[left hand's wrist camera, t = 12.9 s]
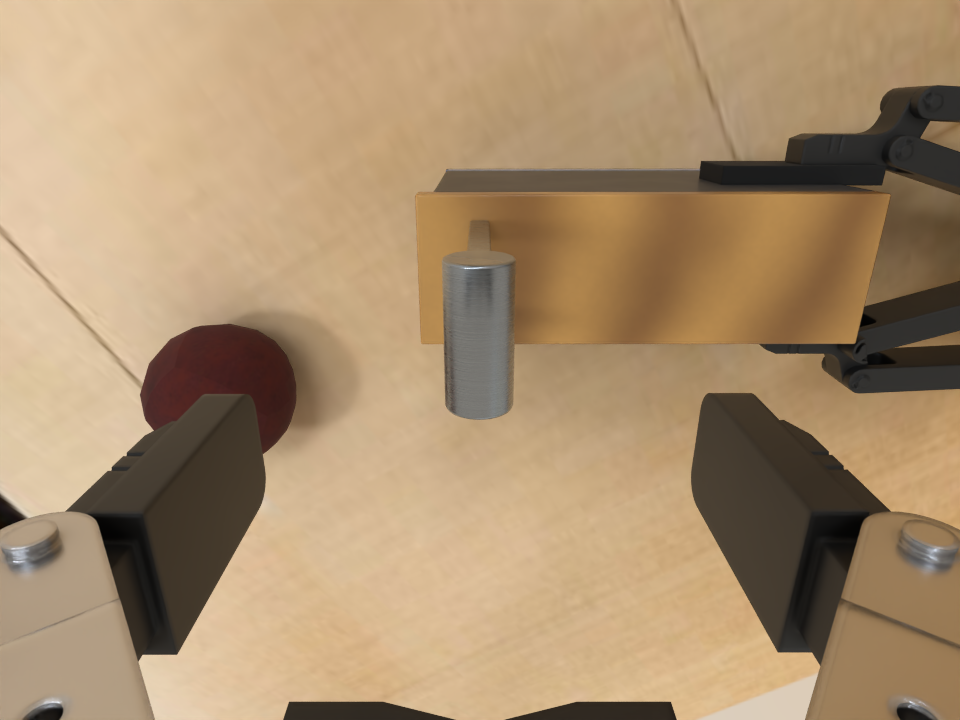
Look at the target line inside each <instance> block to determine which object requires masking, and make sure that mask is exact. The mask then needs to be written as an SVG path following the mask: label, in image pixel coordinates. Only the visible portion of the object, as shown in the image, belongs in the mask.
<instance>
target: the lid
mask: <svg viewBox="0 0 960 720" xmlns="http://www.w3.org/2000/svg"><path fill="white" fill-rule="evenodd" d="M890 198H891V194H888V193H882V192H418V193H417V194H416V196H415V201H416V226H417V252H418V277H419V302H420V327H421V343H422V344H444V368H445V404H446V407H447V409H448V410H449V411H450V412H451V413H452V414H454V415H456V416H459V417H462V418H467V419H477V420H481V419H491V418H496V417H499V416H502V415H504V414H506V413H507V412H509V411H510V409H511V408H512V406H513V382H514V344H855V343H856V338H857V334H858V330H859V326H860V322H861V318H862V314H863V309H864V305H865V301H866V297H867V293H868V289H869V285H870V281H871V276H872V272H873V268H874V264H875V260H876V256H877V252H878V247H879V243H880V239H881V235H882V231H883V227H884V223H885V219H886V214H887V210H888V206H889V202H890Z"/></svg>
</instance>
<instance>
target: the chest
mask: <svg viewBox="0 0 960 720" xmlns="http://www.w3.org/2000/svg"><path fill="white" fill-rule="evenodd" d="M699 174H700V169H447V170H446V173H445V175H444V176H443V178H442V180H441V181H440V183H439V184H438V186H437V188H436V189H435V191H434V192H875V191H872V190H866V189H861V188H856V187H851V186H846V185H720V184H717V183H713V182H710V181H706V180H703V179H700V178H699Z"/></svg>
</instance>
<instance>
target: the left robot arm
mask: <svg viewBox="0 0 960 720" xmlns="http://www.w3.org/2000/svg"><path fill="white" fill-rule="evenodd" d="M265 483H266V476H265V466H264V460H263V453H262V447H261V440H260V433H259V427H258V420H257V414H256V408H255V404H254V401H253V399H252V397H251V396H250V395H248V394H204V395H202V396H201V397H200V398H199V399H198V400H197V401H196V402H195V403H194V404H193V405H192V406H191V407H190V408H189V409H188V410H187V411H186V412H185V413H184V414H183V415H182V416H181V417H180V418H179V419H178V420H177V421H171V422H170V423H168V424H166V425H164V426H162V427H160V428H158V429H157V430H155V431H153V432H151V433H149V434H147V435H145V436H144V437H143V438H142V439H141V440H140V441H139V442H138V443H137V444H136V445H135V446H134V447H132V448H131V449H130V450H129V451H128V452H127V456H123V457H122V458H121V459H120V460H119V461H118V462H117V463H116V464H115V465H114V466H113V467H112V471H107V472H106V473H105V474H104V475H103V476H102V477H101V478H100V479H99V480H98V481H97V482H96V483H95V484H94V485H93V486H92V487H91V488H90V489H88V490H87V491H86V492H85V493H84V494H83V495H82V496H81V497H80V498H79V499H78V500H77V501H76V502H75V503H74V504H73V505H72V506H71V507H70V508H69V509H67V510H66V511H65V512H56V513H49V514H44V515H39V516H35V517H32V518H28V519H25V520H22V521H20V522H17V523H15V524H12V525H10V526H7V527H5V528H3V529H1V530H0V720H155V718H154V715H153V711H152V708H151V704H150V701H149V697H148V694H147V691H146V687H145V684H144V680H143V677H142V673H141V670H140V666H139V663H138V661H139V660H140V658H141V656H142V655H177V654H178V652H179V650H180V649H181V647H182V645H183V643H184V641H185V640H186V638H187V636H188V634H189V633H190V631H191V629H192V627H193V625H194V624H195V622H196V620H197V618H198V617H199V615H200V613H201V611H202V609H203V608H204V606H205V604H206V602H207V601H208V599H209V597H210V595H211V593H212V592H213V590H214V588H215V586H216V585H217V583H218V581H219V579H220V577H221V576H222V574H223V572H224V570H225V569H226V567H227V565H228V563H229V561H230V560H231V558H232V556H233V554H234V553H235V551H236V549H237V547H238V545H239V544H240V542H241V540H242V538H243V537H244V535H245V533H246V531H247V529H248V528H249V526H250V524H251V522H252V521H253V519H254V517H255V515H256V513H257V512H258V510H259V508H260V506H261V504H262V501H263V497H264V492H265ZM691 485H692V492H693V497H694V500H695V503H696V506H697V508H698V509H699V511H700V513H701V515H702V517H703V518H704V520H705V522H706V524H707V526H708V527H709V529H710V531H711V533H712V535H713V536H714V538H715V540H716V542H717V544H718V545H719V547H720V549H721V551H722V553H723V554H724V556H725V558H726V560H727V562H728V563H729V565H730V567H731V569H732V571H733V572H734V574H735V576H736V578H737V580H738V581H739V583H740V585H741V587H742V589H743V590H744V592H745V594H746V596H747V598H748V599H749V601H750V603H751V605H752V607H753V608H754V610H755V612H756V614H757V616H758V617H759V619H760V621H761V623H762V625H763V626H764V628H765V630H766V632H767V634H768V635H769V637H770V639H771V641H772V643H773V644H774V646H775V648H776V650H777V652H812V653H813V655H814V656H815V658H816V659H817V661H818V663H819V664H820V670H819V673H818V677H817V680H816V684H815V687H814V691H813V694H812V697H811V701H810V704H809V708H808V711H807V715H806V718H805V720H960V530H959V529H957V528H955V527H953V526H950V525H948V524H945V523H943V522H940V521H938V520H935V519H932V518H928V517H925V516H921V515H916V514H911V513H904V512H891V511H890V510H889V509H888V508H887V507H886V506H885V505H884V504H883V503H882V502H880V501H879V500H878V499H877V498H876V497H875V496H874V495H873V494H872V493H871V492H870V491H869V490H868V489H867V488H866V487H865V486H864V485H863V484H862V483H861V482H860V481H859V480H858V479H857V478H856V477H855V476H853V475H852V474H851V473H850V472H849V471H848V470H844V468H843V465H842V464H841V463H840V462H839V461H838V460H837V459H836V458H835V457H834V456H833V455H829V451H828V450H826V449H825V448H824V447H823V446H822V445H821V444H820V443H819V442H818V441H817V440H816V439H815V438H814V437H813V436H812V435H811V434H809V433H807V432H805V431H803V430H801V429H800V428H798V427H796V426H794V425H792V424H790V423H788V422H786V421H785V420H779V419H778V418H777V417H776V416H775V415H774V414H773V413H772V412H771V411H770V410H769V409H768V408H767V407H766V406H765V405H764V404H763V403H762V402H761V401H760V400H759V399H758V398H757V397H756V396H755V395H754V394H752V393H708V394H707V395H706V396H705V397H704V399H703V401H702V405H701V410H700V417H699V423H698V430H697V437H696V444H695V450H694V457H693V464H692V471H691ZM283 720H454V719H450V718H446V717H442V716H438V715H434V714H430V713H426V712H422V711H418V710H414V709H410V708H406V707H402V706H398V705H394V704H390V703H386V702H289V704H288V707H287V710H286V713H285V716H284V719H283ZM506 720H677V719H676V716H675V713H674V710H673V707H672V704H671V702H574V703H570V704H566V705H562V706H558V707H554V708H550V709H546V710H542V711H538V712H534V713H530V714H526V715H522V716H518V717H514V718H510V719H506Z"/></svg>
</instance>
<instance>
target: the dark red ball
mask: <svg viewBox="0 0 960 720" xmlns="http://www.w3.org/2000/svg"><path fill="white" fill-rule="evenodd" d="M204 394H248V395H250V396H251V397H252V399H253V401H254V404H255V408H256V414H257V420H258V427H259V433H260V440H261V447H262V453H263V454H264V453H265V452H266V451H268V450H269V449H270V448H271V447H272V446H273V445H275V444H276V443H277V441H278V440H279V439H280V438H281V437H282V435H283V434H284V433H285V432H286V430H287V428H288V426H289V424H290V422H291V418H292V415H293V412H294V408H295V403H296V383H295V378H294V374H293V369H292V367H291V365H290V362H289V360H288V358H287V356H286V354H285V353H284V352H283V350H282V349H281V348H280V347H279V346H278V344H277V343H276V342H275V341H274V340H272V339H270V338H269V337H267V336H266V335H264V334H262V333H261V332H259V331H257V330H254V329H249V328H245V327H241V326H236V325H232V324H222V325H207V326H199V327H194V328H192V329H190V330H188V331H186V332H184V333H182V334H180V335H178V336H176V337H174V338H172V339H170V340H169V341H168V343H167V344H166V345H165V346H164V347H163V348H162V349H161V351H160V352H159V353H158V354H157V355H156V356H155V357H154V359H153V360H152V361H151V362H150V363H149V366H148V369H147V373H146V376H145V380H144V383H143V386H142V390H141V393H140V397H141V402H142V407H143V412H144V416H145V419H146V421H147V422H148V424H149V425H150V426H151V427H152V429H153V430H154V431H155V430H157V429H158V428H160V427H162V426H164V425H166V424H168V423H170V422H171V421H177V420H178V419H179V418H180V417H181V416H182V415H183V414H184V413H185V412H186V411H187V410H188V409H189V408H190V407H191V406H192V405H193V404H194V403H195V402H196V401H197V400H198V399H199V398H200V397H201V396H202V395H204Z"/></svg>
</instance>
